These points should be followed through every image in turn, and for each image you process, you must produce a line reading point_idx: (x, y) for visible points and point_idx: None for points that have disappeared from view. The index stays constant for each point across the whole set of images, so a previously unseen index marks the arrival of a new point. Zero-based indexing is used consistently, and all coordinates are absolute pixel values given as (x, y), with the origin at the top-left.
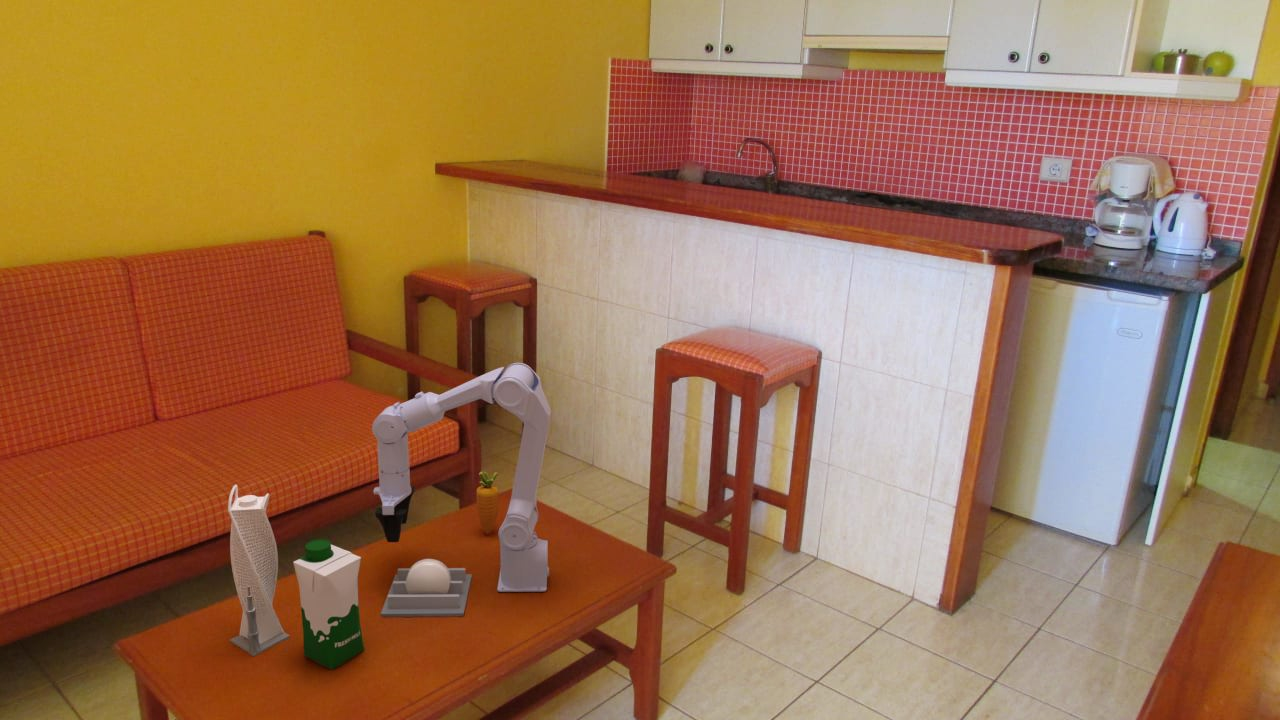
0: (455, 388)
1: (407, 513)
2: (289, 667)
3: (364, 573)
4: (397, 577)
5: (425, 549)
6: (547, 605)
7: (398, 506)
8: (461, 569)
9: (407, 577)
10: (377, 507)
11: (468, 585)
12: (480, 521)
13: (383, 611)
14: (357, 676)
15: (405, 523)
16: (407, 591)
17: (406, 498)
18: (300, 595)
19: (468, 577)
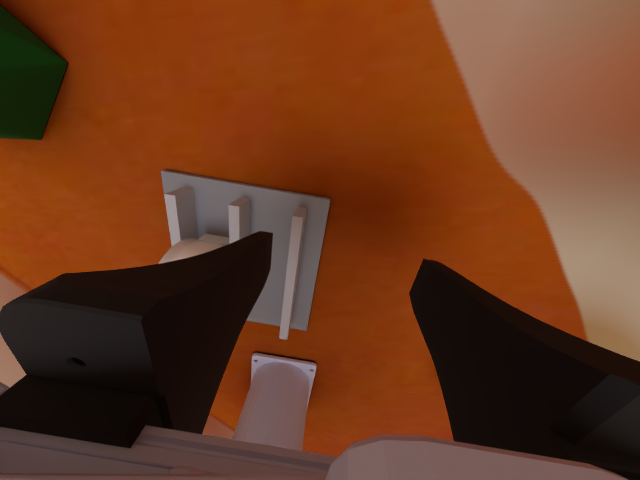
0: None
1: (423, 335)
2: None
3: (367, 115)
4: (315, 204)
5: (443, 261)
6: (220, 391)
7: (459, 336)
8: (282, 333)
9: (163, 258)
10: (141, 324)
11: (268, 323)
12: None
13: (171, 176)
14: None
15: (410, 293)
16: (188, 238)
17: (466, 424)
18: None
19: (296, 325)
